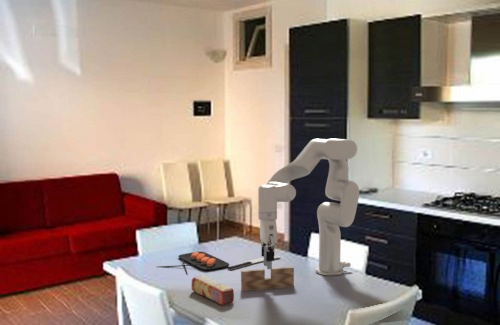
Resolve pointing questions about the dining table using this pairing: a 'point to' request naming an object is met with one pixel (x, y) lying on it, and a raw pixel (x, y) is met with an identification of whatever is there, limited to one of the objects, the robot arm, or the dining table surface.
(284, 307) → the dining table surface
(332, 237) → the robot arm
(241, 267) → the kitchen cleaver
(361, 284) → the dining table surface
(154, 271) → the dining table surface
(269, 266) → the notched grey block
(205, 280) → the snack package
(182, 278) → the dining table surface
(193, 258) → the sushi plate
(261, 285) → the wooden board
